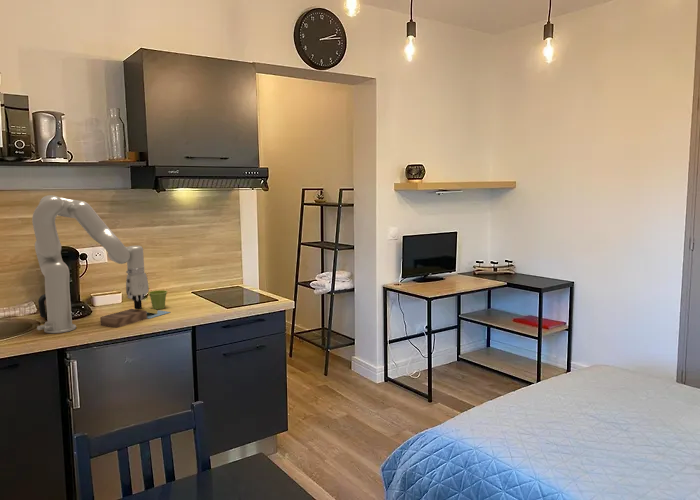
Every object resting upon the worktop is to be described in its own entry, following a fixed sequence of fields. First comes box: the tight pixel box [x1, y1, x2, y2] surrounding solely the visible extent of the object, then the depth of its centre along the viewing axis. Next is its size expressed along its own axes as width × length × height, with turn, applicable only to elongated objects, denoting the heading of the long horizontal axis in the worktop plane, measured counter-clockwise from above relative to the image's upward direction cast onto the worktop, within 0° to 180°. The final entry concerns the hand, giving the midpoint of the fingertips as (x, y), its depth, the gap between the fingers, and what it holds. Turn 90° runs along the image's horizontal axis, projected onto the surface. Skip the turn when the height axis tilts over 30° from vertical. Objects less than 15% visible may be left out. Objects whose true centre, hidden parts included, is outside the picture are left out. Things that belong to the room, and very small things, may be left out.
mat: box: [146, 309, 171, 320], centre depth 265 cm, size 14×12×1 cm
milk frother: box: [37, 294, 47, 319], centre depth 251 cm, size 14×16×15 cm
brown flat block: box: [99, 308, 148, 329], centre depth 250 cm, size 18×10×4 cm, turn 154°
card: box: [137, 306, 159, 314], centre depth 262 cm, size 9×6×2 cm, turn 154°
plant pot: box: [147, 289, 168, 310], centre depth 277 cm, size 9×9×9 cm
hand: (138, 308), depth 257 cm, fingers closed
